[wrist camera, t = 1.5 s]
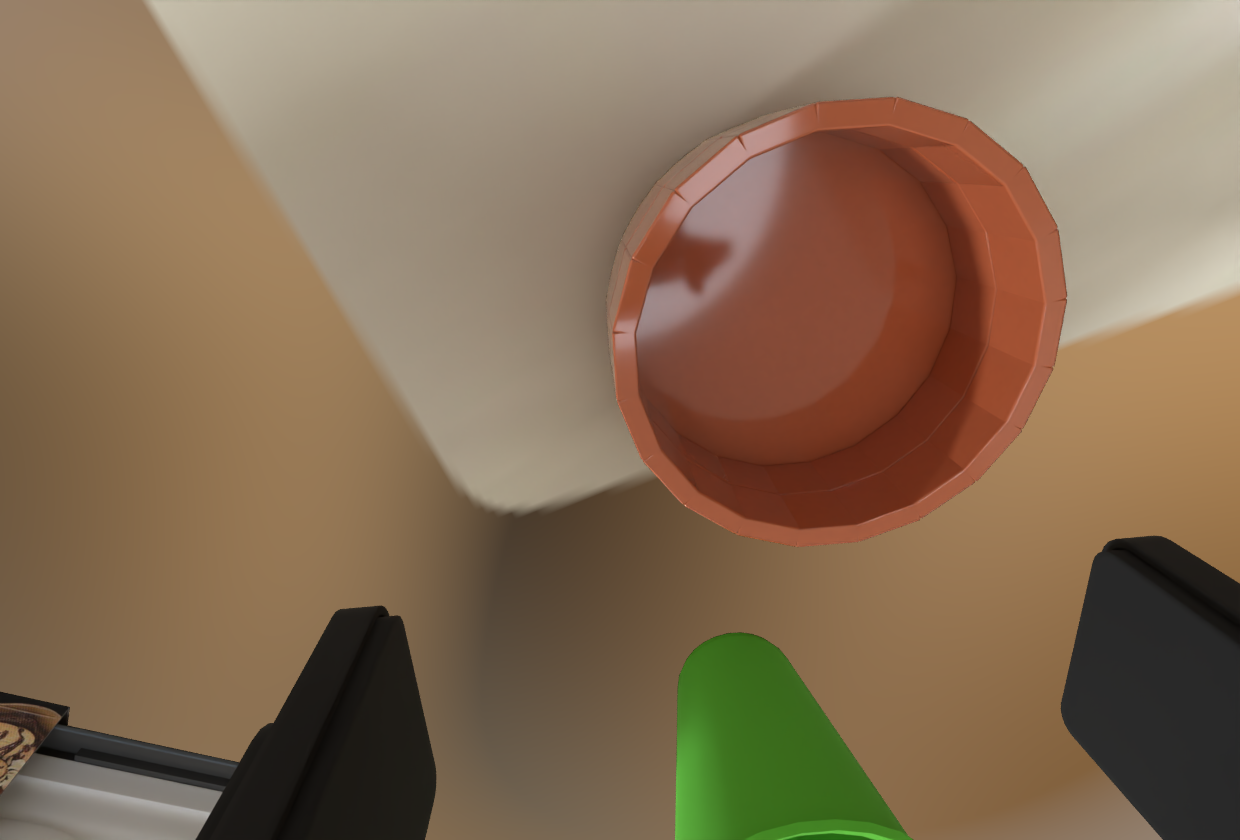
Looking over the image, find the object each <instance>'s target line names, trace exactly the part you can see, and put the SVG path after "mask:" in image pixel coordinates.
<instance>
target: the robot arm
mask: <svg viewBox="0 0 1240 840" xmlns="http://www.w3.org/2000/svg"><path fill="white" fill-rule="evenodd" d="M1061 713H1062V717H1063V720H1064V723H1065V725H1066V727H1067V729H1068V730H1069V732H1070V733H1071V734H1072V736H1073V737H1074V738H1075V739H1076V740H1077V742H1078V743H1079V744H1080V745H1081V746H1082V748H1083V749H1084V750H1085V751H1086V752H1087V753H1088V754H1089V756H1090V757H1091V758H1092V759H1093V760H1094V761H1095V762H1096V764H1097V765H1098V766H1099V767H1100V768H1101V769H1102V770H1103V772H1104V773H1105V774H1106V775H1107V776H1108V777H1109V778H1110V780H1111V781H1112V782H1113V783H1114V784H1115V785H1116V786H1117V787H1118V789H1119V790H1120V791H1121V792H1122V793H1123V794H1124V796H1125V797H1126V798H1127V799H1128V800H1129V801H1130V803H1131V804H1132V805H1133V806H1134V807H1135V808H1136V809H1137V811H1138V812H1139V813H1140V814H1141V815H1142V816H1143V817H1144V819H1146V821H1147V822H1148V823H1149V824H1150V825H1151V827H1152V828H1153V829H1154V830H1155V831H1156V832H1157V833H1158V835H1159V836H1160V837H1161V838H1162V839H1163V840H1240V584H1239V583H1238V582H1236V581H1235V580H1233V579H1231V578H1230V577H1228V576H1227V575H1225V574H1223V573H1222V572H1220V571H1219V570H1217V569H1216V568H1214V567H1212V566H1211V565H1209V564H1208V563H1206V562H1204V561H1203V560H1201V559H1200V558H1198V557H1196V556H1195V555H1193V554H1191V553H1190V552H1188V551H1187V550H1185V549H1184V548H1182V547H1180V546H1179V545H1177V544H1176V543H1174V542H1172V541H1171V540H1169V539H1167V538H1164V537H1162V536H1146V537H1134V538H1123V539H1115V540H1112V541H1109V542H1108V543H1107V544H1106V545H1105V546H1104V548H1103V550H1102V552H1100V553H1098V554H1097V555H1096V556H1095V558H1094V560H1093V564H1092V568H1091V572H1090V577H1089V581H1088V586H1087V590H1086V595H1085V599H1084V604H1083V608H1082V613H1081V617H1080V622H1079V626H1078V630H1077V635H1076V640H1075V644H1074V648H1073V653H1072V657H1071V662H1070V666H1069V671H1068V675H1067V680H1066V684H1065V689H1064V693H1063V698H1062V702H1061ZM435 791H436V768H435V762H434V758H433V754H432V749H431V744H430V740H429V735H428V731H427V726H426V722H425V717H424V713H423V709H422V704H421V700H420V695H419V690H418V686H417V682H416V677H415V673H414V668H413V664H412V659H411V655H410V650H409V646H408V641H407V637H406V632H405V628H404V624H403V621H402V619H401V617H400V616H389V613H388V611H387V610H386V608H385V607H383V606H373V607H362V608H349V609H340V610H338V611H336V612H335V614H334V615H333V617H332V618H331V620H330V622H329V624H328V625H327V627H326V629H325V631H324V633H323V635H322V636H321V638H320V640H319V642H318V644H317V645H316V647H315V649H314V651H313V653H312V655H311V656H310V658H309V660H308V662H307V664H306V665H305V667H304V669H303V671H302V673H301V675H300V676H299V678H298V680H297V682H296V684H295V685H294V687H293V689H292V691H291V693H290V695H289V696H288V698H287V700H286V702H285V703H284V705H283V707H282V709H281V711H280V713H279V715H278V716H277V718H276V720H275V722H274V723H269V724H267V725H266V726H264V727H263V728H262V729H260V731H259V732H258V733H257V735H256V736H255V737H254V739H253V740H252V742H251V743H250V745H249V747H248V749H247V750H246V752H245V754H244V756H243V758H242V759H241V761H240V763H239V764H238V766H237V768H236V770H235V771H234V773H233V775H232V777H231V778H230V780H229V782H228V784H227V785H226V787H225V789H224V791H223V792H222V794H221V796H220V798H219V799H218V801H217V803H216V805H215V806H214V808H213V810H212V812H211V813H210V815H209V817H208V819H207V820H206V822H205V824H204V826H203V827H202V829H201V831H200V832H199V834H198V836H197V838H196V839H195V840H425V837H426V833H427V829H428V824H429V819H430V815H431V811H432V807H433V802H434V798H435Z"/></svg>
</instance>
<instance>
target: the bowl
mask: <svg viewBox="0 0 1240 840" xmlns="http://www.w3.org/2000/svg"><path fill="white" fill-rule="evenodd" d="M1066 297H1067V291H1066V283H1065V276H1064V268H1063V261H1062V253H1061V245H1060V238H1059V231H1058V229H1057V225H1056V223H1055V221H1054V219H1053V217H1052V215H1051V214H1050V212H1049V210H1048V208H1047V206H1046V204H1045V202H1044V200H1043V199H1042V197H1041V195H1040V193H1039V191H1038V189H1037V187H1036V185H1035V184H1034V182H1033V180H1032V178H1031V176H1030V174H1029V172H1028V170H1027V169H1026V167H1023V164H1022V163H1021V162H1019V161H1018V160H1017V159H1016V158H1015V157H1013V156H1012V155H1011V154H1010V153H1009V152H1007V151H1006V150H1005V149H1004V148H1003V147H1001V146H1000V145H999V144H998V143H997V142H995V141H994V140H993V139H992V138H990V137H989V136H988V135H987V134H986V133H984V132H983V131H982V130H981V129H980V128H978V127H977V126H976V125H975V124H974V123H972V122H971V121H968V119H967V118H964V117H960V116H957V115H954V114H951V113H948V112H944V111H941V110H938V109H935V108H932V107H928V106H925V105H922V104H919V103H915V102H912V101H909V100H906V99H903V98H899V97H896V98H895V97H880V98H865V99H849V100H833V101H818V102H814V103H810V104H806V105H802V106H798V107H794V108H790V109H786V110H782V111H778V112H774V113H770V114H766V115H763V116H761V117H758V118H756V119H754V120H751V121H749V122H747V123H744V124H741V125H738V126H736V127H734V128H732V129H729V130H727V131H725V132H722V133H720V134H718V135H716V136H713V137H711V138H709V139H706V141H703V142H702V143H701V144H700V145H699V146H698V147H696V148H695V149H693V150H692V151H691V152H690V153H688V154H687V155H686V156H685V157H683V158H682V159H681V160H680V161H678V162H677V163H676V164H675V165H673V166H672V167H671V168H670V169H669V170H668V172H667V173H666V174H665V175H664V176H663V177H662V178H661V179H660V180H658V181H657V182H656V184H655V185H654V186H653V187H652V189H651V190H650V192H649V193H648V194H647V196H646V197H645V198H644V200H643V201H642V203H641V204H640V205H639V207H638V208H637V210H636V212H635V214H634V216H633V217H632V219H631V221H630V223H629V224H628V226H627V228H626V230H625V233H624V235H623V236H622V240H621V241H620V244H619V247H618V250H617V252H616V256H615V260H614V264H613V267H612V271H611V275H610V281H609V288H608V292H607V296H606V312H607V328H608V341H609V355H610V361H611V368H612V374H613V381H614V387H615V393H616V399H617V403H618V406H619V408H620V410H621V413H622V415H623V417H624V420H625V422H626V424H627V427H628V429H629V432H630V434H631V436H632V439H633V441H634V443H635V446H636V448H637V450H638V453H639V455H640V457H641V459H642V460H643V462H644V463H645V464H646V465H647V466H648V468H649V469H650V470H651V471H652V472H653V473H654V474H655V475H656V476H657V477H658V478H659V479H660V481H661V482H662V483H663V484H664V485H665V486H666V487H667V488H668V489H669V491H670V492H671V493H672V494H673V495H674V496H675V497H676V498H677V499H678V500H679V501H680V503H682V504H683V505H684V506H685V507H687V508H689V509H691V510H692V511H694V512H696V513H698V514H700V515H702V516H703V517H705V518H707V519H709V520H711V521H713V522H714V523H716V524H718V525H720V526H721V527H723V528H725V529H727V530H729V531H731V532H733V533H734V534H737V535H739V536H744V537H749V538H754V539H760V540H765V541H769V542H774V543H780V544H785V545H790V546H794V547H795V546H797V547H803V546H815V545H827V544H839V543H850V542H858V541H863V540H865V539H868V538H871V537H874V536H876V535H879V534H882V533H885V532H888V531H891V530H893V529H896V528H899V527H902V526H904V525H907V524H910V523H913V522H916V521H918V520H920V518H923V517H925V516H926V515H928V514H929V513H930V512H932V511H934V510H935V509H936V508H938V507H939V506H941V505H942V504H944V503H945V502H947V501H948V500H950V499H951V498H953V497H954V496H956V495H957V494H959V493H960V492H962V491H963V490H965V489H966V488H967V487H969V486H970V485H972V484H973V483H975V481H977V480H979V479H980V478H981V476H982V475H983V474H984V473H985V472H986V471H987V470H988V469H989V467H990V466H991V465H992V464H993V463H994V462H995V461H996V460H997V458H998V457H999V456H1000V455H1001V454H1002V453H1003V452H1004V451H1005V449H1006V448H1007V447H1008V446H1009V445H1010V444H1011V443H1012V442H1013V441H1014V439H1015V438H1016V437H1017V436H1018V435H1019V434H1020V433H1021V432H1022V428H1024V426H1025V424H1026V422H1027V420H1028V418H1029V416H1030V414H1031V412H1032V410H1033V408H1034V406H1035V404H1036V402H1037V400H1038V398H1039V396H1040V394H1041V392H1042V390H1043V388H1044V386H1045V384H1046V383H1047V381H1048V378H1049V377H1050V374H1051V373H1052V371H1053V366H1054V365H1055V361H1056V355H1057V350H1058V345H1059V340H1060V334H1061V329H1062V324H1063V318H1064V313H1065V308H1066V303H1067V299H1066Z"/></svg>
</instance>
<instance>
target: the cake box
mask: <svg viewBox="0 0 1240 840" xmlns="http://www.w3.org/2000/svg"><path fill="white" fill-rule="evenodd" d="M69 709H70V707H67V706H63V705H58V704H54V703H49V702H44V701H40V700H35V699H31V698H26V697H22V696H17V695H13V694H8V693H3V692H0V840H195V839H196V838H197V836H198V834H199V832H200V831H201V829H202V827H203V826H204V824H205V822H206V820H207V819H208V817H209V815H210V813H211V812H212V810H213V808H214V806H215V805H216V803H217V801H218V799H219V798H220V796H221V794H222V792H223V791H224V789H225V787H226V785H227V784H228V782H229V780H230V778H231V777H232V775H233V773H234V771H235V770H236V768H237V766H238V764H239V762H235V761H230V760H225V759H221V758H216V757H211V756H207V755H202V754H197V753H193V752H188V751H184V750H179V749H174V748H169V747H165V746H160V745H155V744H150V743H146V742H142V741H137V740H132V739H127V738H123V737H118V736H114V735H109V734H104V733H100V732H95V731H90V730H86V729H80V728H76V727H72V726H67V725H68V717H69Z"/></svg>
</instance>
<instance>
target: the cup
mask: <svg viewBox="0 0 1240 840" xmlns="http://www.w3.org/2000/svg"><path fill="white" fill-rule="evenodd" d="M676 762H677V764H676V824H675V826H676V828H675V840H913V839H912V838H910V837H909V836H908V835H907V833H906V832H905V831H904V829H903V828H902V826H901V825H900V823H899V822H898V820H897V819H896V817H895V816H894V814H893V813H892V812H891V810H890V809H889V807H888V806H887V804H886V803H885V801H884V800H883V798H882V797H881V795H880V794H879V793H878V791H877V789H876V788H875V787H874V785H873V784H872V782H871V781H870V779H869V778H868V777H867V775H866V773H865V772H864V770H863V769H862V768H861V766H860V765H859V763H858V762H857V760H856V759H855V757H854V756H853V754H852V753H851V751H850V750H849V748H848V747H847V746H846V744H845V743H844V741H843V740H842V738H841V737H840V735H839V734H838V732H837V731H836V729H835V728H834V726H833V725H832V724H831V722H830V721H829V719H828V718H827V716H826V715H825V713H824V712H823V710H822V709H821V707H820V706H819V704H818V703H817V702H816V700H815V699H814V697H813V696H812V694H811V693H810V691H809V690H808V688H807V687H806V686H805V684H804V682H803V681H802V680H801V678H800V677H799V675H798V674H797V672H796V671H795V669H794V668H793V666H792V665H791V663H790V662H789V660H788V659H787V658H786V656H785V655H784V654H783V653H782V652H781V651H780V649H779V648H777V647H776V646H774V645H773V644H771V643H770V642H768V641H767V640H765V639H764V638H762V637H759V636H756V635H754V634H748V633H727V634H723V635H720V636H716V637H713V638H711V639H710V640H707V641H705V642H704V643H702V644H701V645H700V646H698V647H697V648H696V649H694V650H693V652H692V653H691V654H690V656H689V657H688V658H687V660H686V662H685V664H684V666H683V668H682V671H681V673H680V675H679V682H678V698H677V760H676Z"/></svg>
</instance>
